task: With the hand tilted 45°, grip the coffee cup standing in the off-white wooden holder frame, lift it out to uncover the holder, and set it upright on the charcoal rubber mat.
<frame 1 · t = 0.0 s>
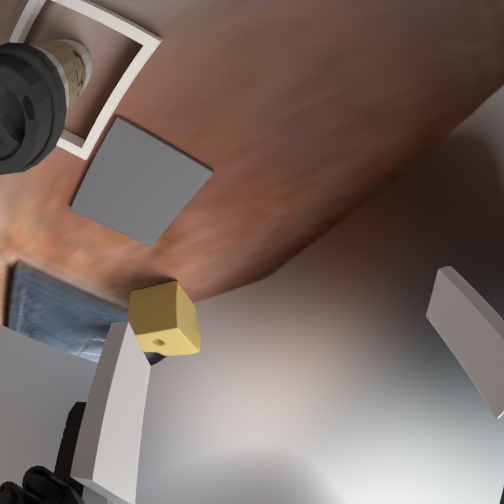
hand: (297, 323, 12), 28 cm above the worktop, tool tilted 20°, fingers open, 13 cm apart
rubber mat: (135, 188, 38), on the worktop
coffee cup: (65, 68, 24), resting in holder frame
cheese: (164, 297, 57), on the worktop
holder frame: (64, 68, 24), on the worktop
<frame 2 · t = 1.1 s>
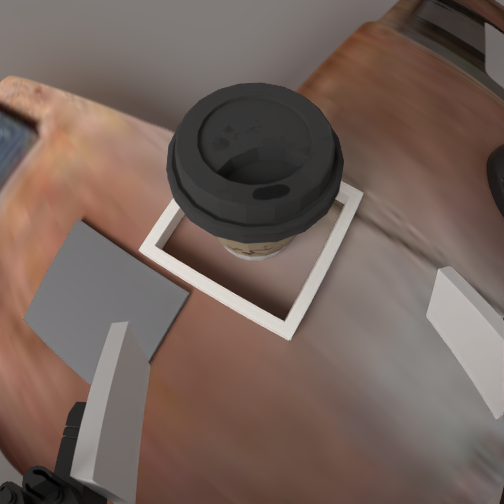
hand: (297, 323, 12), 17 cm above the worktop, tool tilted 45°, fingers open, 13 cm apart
rubber mat: (95, 309, 29), on the worktop
coffee cup: (254, 227, 31), resting in holder frame
holder frame: (254, 226, 31), on the worktop
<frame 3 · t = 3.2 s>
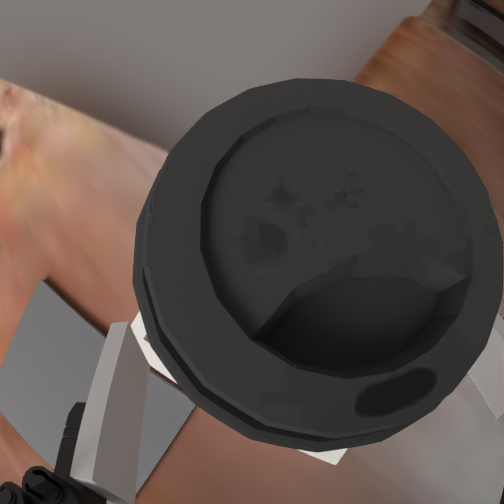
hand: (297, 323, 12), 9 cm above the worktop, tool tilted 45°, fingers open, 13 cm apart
rubber mat: (72, 405, 19), on the worktop
coffee cup: (290, 306, 21), resting in holder frame
holder frame: (290, 306, 21), on the worktop
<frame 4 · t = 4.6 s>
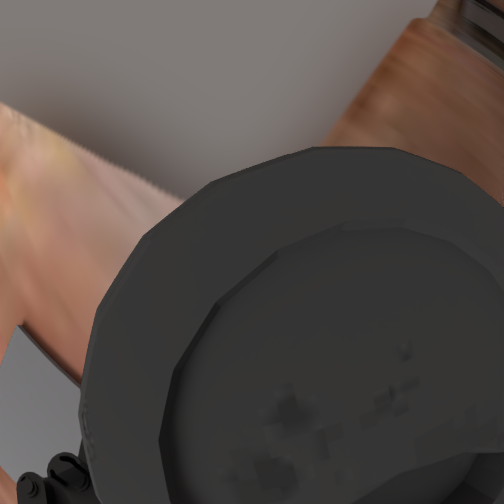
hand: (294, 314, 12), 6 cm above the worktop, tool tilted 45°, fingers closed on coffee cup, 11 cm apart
rubber mat: (59, 456, 15), on the worktop
coffee cup: (287, 363, 18), resting in holder frame, touching gripper
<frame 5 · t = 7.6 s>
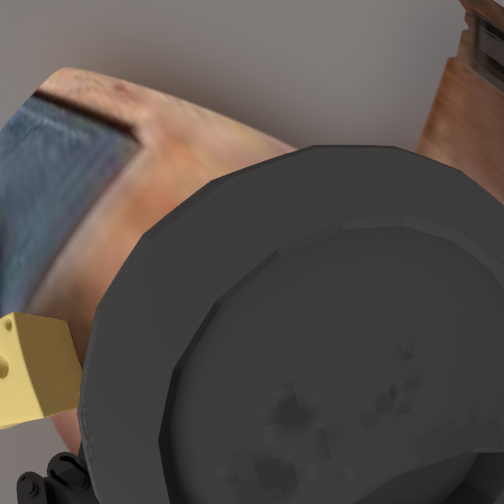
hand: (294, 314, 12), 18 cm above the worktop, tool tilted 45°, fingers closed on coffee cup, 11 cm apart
coffee cup: (287, 363, 18), point 11 cm above the worktop, touching gripper
cheese: (53, 371, 28), on the worktop
when the fingers open (8 cm above the worktop, at t = 10.4 s): coffee cup drops 1 cm, resting on rubber mat.
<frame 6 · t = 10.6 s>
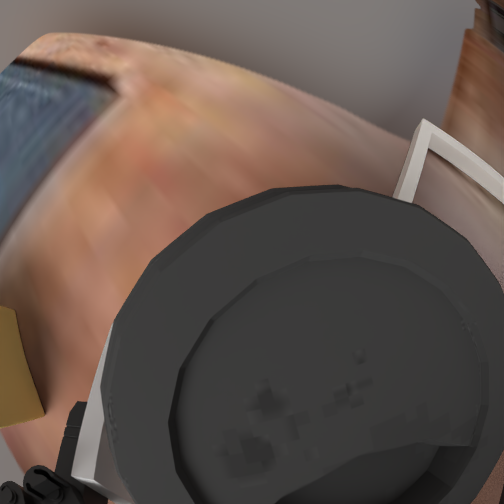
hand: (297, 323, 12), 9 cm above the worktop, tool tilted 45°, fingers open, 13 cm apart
coffee cup: (281, 364, 19), resting on rubber mat
cheese: (1, 373, 19), on the worktop
holder frame: (467, 239, 22), on the worktop
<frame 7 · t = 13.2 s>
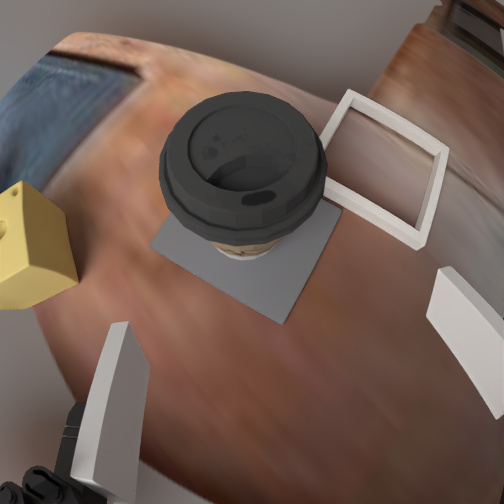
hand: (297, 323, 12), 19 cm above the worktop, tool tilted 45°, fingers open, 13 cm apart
rubber mat: (247, 228, 32), on the worktop
coffee cup: (245, 227, 32), resting on rubber mat
cheese: (44, 262, 32), on the worktop
holder frame: (380, 164, 35), on the worktop
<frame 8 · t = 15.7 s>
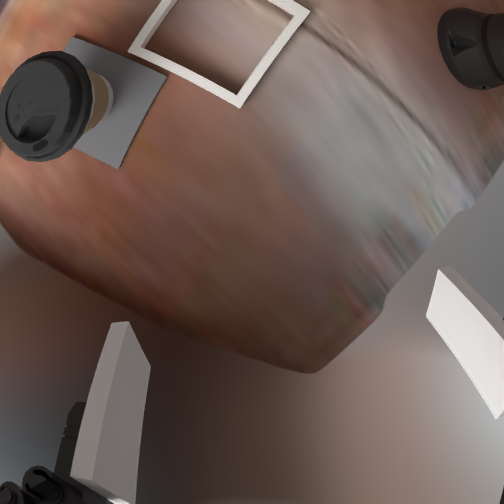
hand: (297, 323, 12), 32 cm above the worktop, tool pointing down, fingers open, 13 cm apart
rubber mat: (93, 100, 33), on the worktop
coffee cup: (90, 100, 32), resting on rubber mat
holder frame: (218, 27, 30), on the worktop
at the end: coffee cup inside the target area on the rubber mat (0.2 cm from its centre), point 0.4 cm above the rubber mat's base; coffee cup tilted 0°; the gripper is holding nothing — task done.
